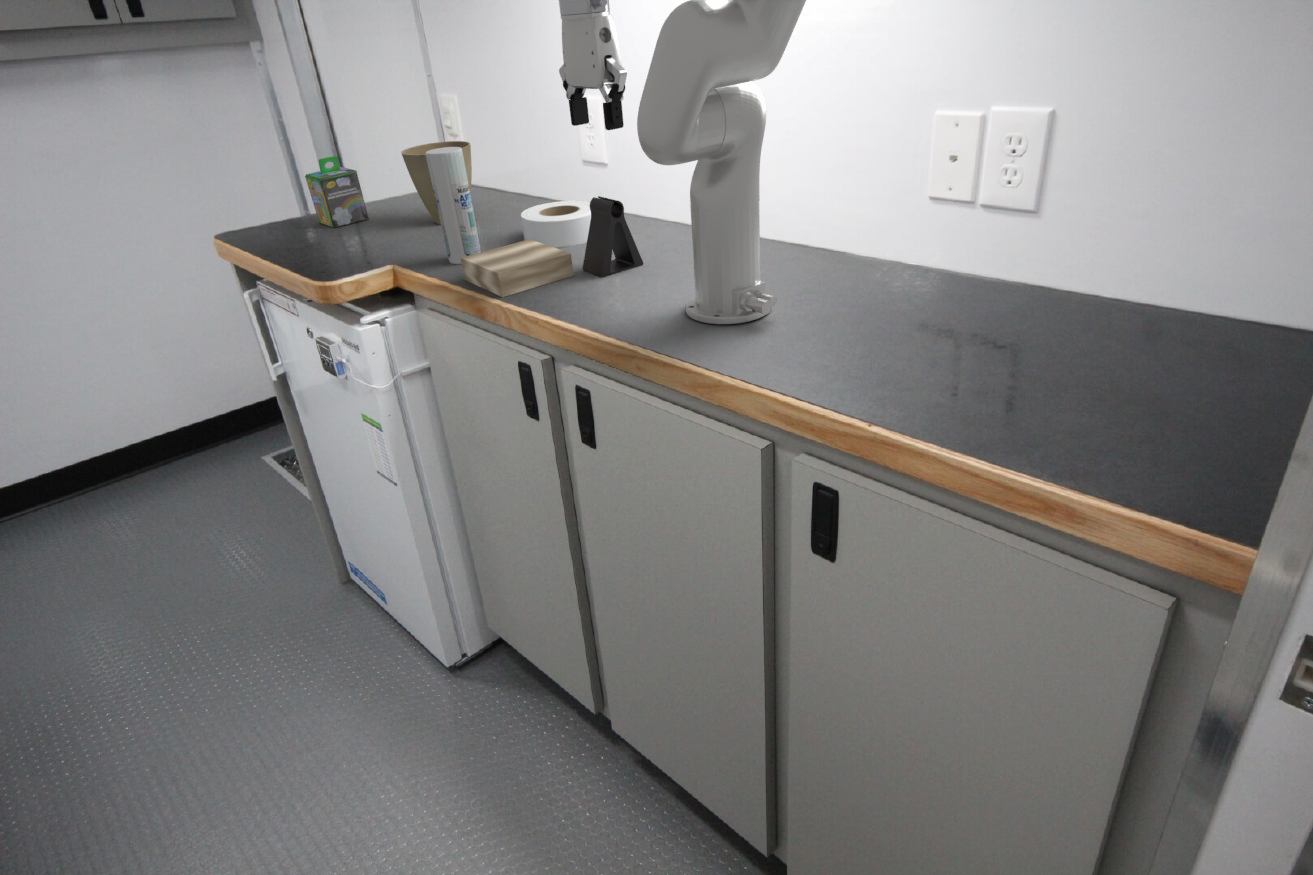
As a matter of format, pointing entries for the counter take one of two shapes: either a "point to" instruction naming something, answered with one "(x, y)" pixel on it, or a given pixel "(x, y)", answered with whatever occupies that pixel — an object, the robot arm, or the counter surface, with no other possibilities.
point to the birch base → (517, 267)
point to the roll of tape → (557, 223)
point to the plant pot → (421, 175)
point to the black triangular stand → (609, 240)
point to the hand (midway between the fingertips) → (597, 126)
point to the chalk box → (336, 194)
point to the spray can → (453, 202)
